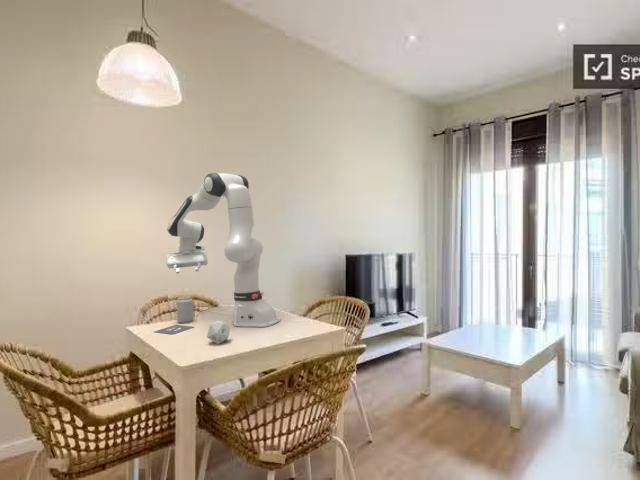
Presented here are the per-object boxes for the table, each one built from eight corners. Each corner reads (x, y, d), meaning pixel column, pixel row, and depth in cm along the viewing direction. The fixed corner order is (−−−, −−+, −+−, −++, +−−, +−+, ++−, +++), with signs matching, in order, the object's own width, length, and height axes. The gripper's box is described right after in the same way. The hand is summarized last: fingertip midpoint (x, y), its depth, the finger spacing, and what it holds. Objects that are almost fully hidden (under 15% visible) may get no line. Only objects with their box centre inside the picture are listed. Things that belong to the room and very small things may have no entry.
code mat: (194, 327, 162) (194, 326, 162) (172, 334, 151) (172, 334, 151) (175, 325, 168) (175, 324, 168) (153, 332, 157) (153, 331, 157)
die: (204, 348, 134) (215, 328, 131) (201, 331, 140) (212, 313, 138) (224, 350, 138) (236, 332, 136) (221, 335, 145) (232, 317, 142)
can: (188, 323, 169) (186, 298, 168) (174, 323, 170) (172, 298, 170) (197, 319, 176) (195, 295, 176) (183, 319, 178) (182, 295, 177)
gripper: (166, 249, 189) (164, 269, 180) (206, 246, 194) (207, 265, 185) (168, 257, 193) (166, 277, 184) (207, 254, 198) (208, 273, 189)
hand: (187, 271), depth 185 cm, fingers open, 8 cm apart
